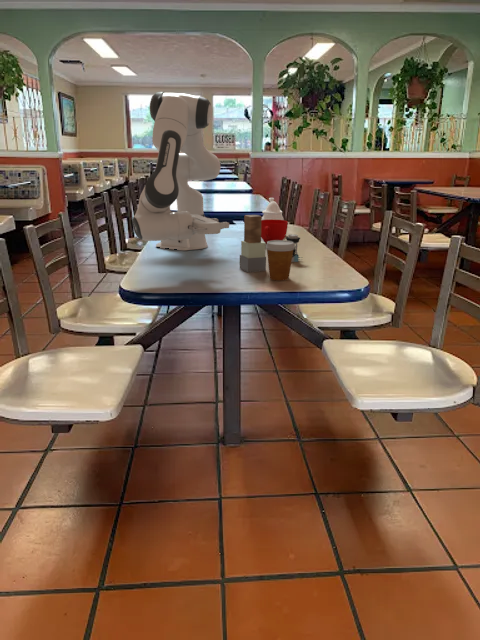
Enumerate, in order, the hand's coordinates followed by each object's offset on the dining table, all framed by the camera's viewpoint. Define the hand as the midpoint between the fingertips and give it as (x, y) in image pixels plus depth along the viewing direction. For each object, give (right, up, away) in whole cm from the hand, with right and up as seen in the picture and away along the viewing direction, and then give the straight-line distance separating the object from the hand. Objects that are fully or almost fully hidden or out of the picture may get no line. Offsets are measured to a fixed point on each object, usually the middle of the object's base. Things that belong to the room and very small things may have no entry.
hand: (223, 223), depth 167 cm
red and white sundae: (+22, +10, +81) cm, 85 cm away
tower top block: (+10, -10, +8) cm, 17 cm away
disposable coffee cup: (+19, -19, -3) cm, 27 cm away
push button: (+26, -10, +23) cm, 36 cm away
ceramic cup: (+20, +1, +57) cm, 61 cm away
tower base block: (+10, -15, +10) cm, 20 cm away
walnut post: (+10, -5, +6) cm, 13 cm away
